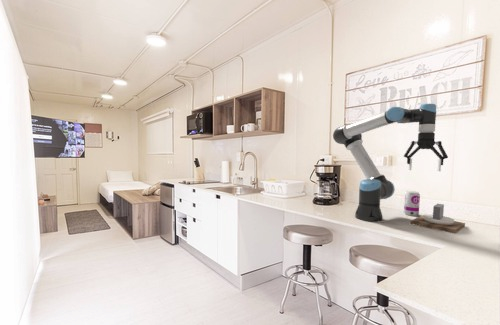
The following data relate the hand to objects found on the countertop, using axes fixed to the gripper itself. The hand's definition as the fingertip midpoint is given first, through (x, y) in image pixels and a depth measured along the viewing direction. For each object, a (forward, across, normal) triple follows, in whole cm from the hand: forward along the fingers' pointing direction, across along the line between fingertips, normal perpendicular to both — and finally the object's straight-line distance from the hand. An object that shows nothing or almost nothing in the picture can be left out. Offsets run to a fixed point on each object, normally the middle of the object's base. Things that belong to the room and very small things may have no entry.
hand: (424, 170), depth 140 cm
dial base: (+31, -9, -3) cm, 32 cm away
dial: (+28, -9, -3) cm, 30 cm away
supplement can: (+31, 0, -24) cm, 39 cm away
